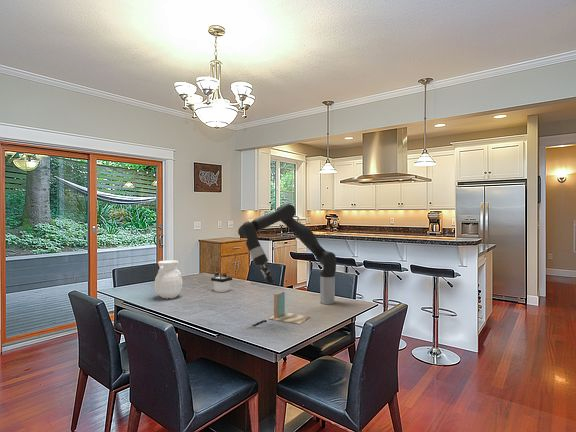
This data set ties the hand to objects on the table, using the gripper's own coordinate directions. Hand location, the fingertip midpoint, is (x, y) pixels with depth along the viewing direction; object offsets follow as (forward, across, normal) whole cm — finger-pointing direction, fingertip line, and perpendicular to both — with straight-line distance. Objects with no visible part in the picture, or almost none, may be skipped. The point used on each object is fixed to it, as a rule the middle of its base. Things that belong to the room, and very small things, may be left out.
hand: (271, 283), depth 192 cm
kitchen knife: (+17, -5, +19) cm, 26 cm away
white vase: (-24, +66, +63) cm, 94 cm away
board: (+22, +9, -2) cm, 24 cm away
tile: (+18, +13, +2) cm, 22 cm away
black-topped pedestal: (-13, +81, +30) cm, 87 cm away
